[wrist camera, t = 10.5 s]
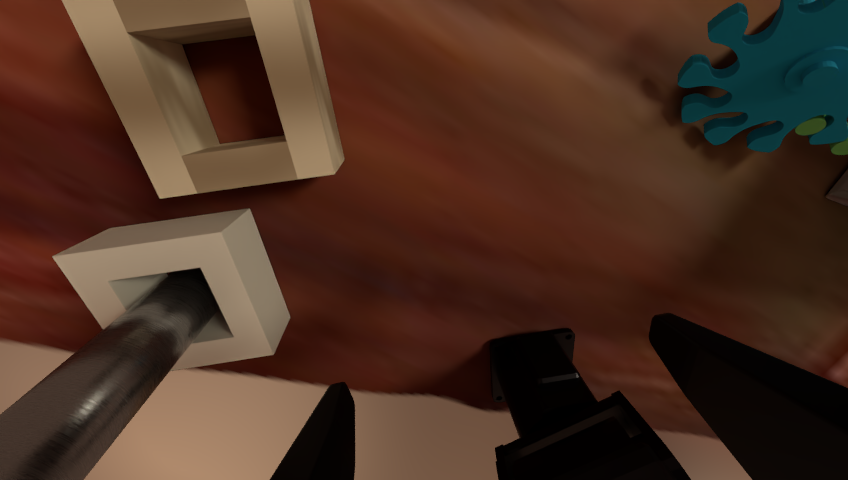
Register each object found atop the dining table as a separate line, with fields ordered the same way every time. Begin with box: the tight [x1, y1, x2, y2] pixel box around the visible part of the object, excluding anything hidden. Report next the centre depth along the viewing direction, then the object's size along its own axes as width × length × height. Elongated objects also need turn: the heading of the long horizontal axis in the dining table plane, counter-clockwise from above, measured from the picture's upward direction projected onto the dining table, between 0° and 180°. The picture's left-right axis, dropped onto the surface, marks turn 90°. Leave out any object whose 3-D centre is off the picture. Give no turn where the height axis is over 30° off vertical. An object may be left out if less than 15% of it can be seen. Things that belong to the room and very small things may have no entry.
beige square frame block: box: [62, 0, 345, 199], centre depth 15 cm, size 8×8×4 cm
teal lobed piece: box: [678, 0, 848, 155], centre depth 16 cm, size 11×6×10 cm
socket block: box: [52, 208, 290, 371], centre depth 19 cm, size 8×8×4 cm
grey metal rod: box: [0, 268, 220, 480], centre depth 15 cm, size 3×3×12 cm
